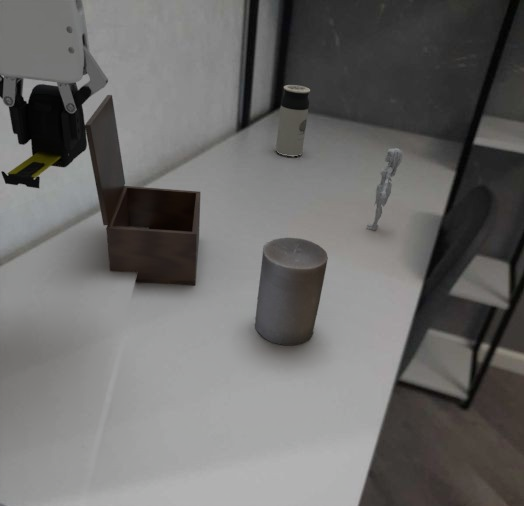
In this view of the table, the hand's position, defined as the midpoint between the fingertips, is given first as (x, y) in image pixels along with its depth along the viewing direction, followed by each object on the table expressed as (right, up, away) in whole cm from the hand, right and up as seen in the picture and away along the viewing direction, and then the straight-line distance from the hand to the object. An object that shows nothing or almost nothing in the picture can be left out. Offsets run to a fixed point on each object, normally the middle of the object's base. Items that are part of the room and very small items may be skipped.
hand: (48, 141), depth 60 cm
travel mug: (+33, +35, +96) cm, 108 cm away
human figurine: (+51, +3, +59) cm, 78 cm away
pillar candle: (+28, -21, +24) cm, 43 cm away
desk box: (+5, -7, +38) cm, 39 cm away
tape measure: (0, -2, +2) cm, 3 cm away
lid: (0, +8, +26) cm, 27 cm away
